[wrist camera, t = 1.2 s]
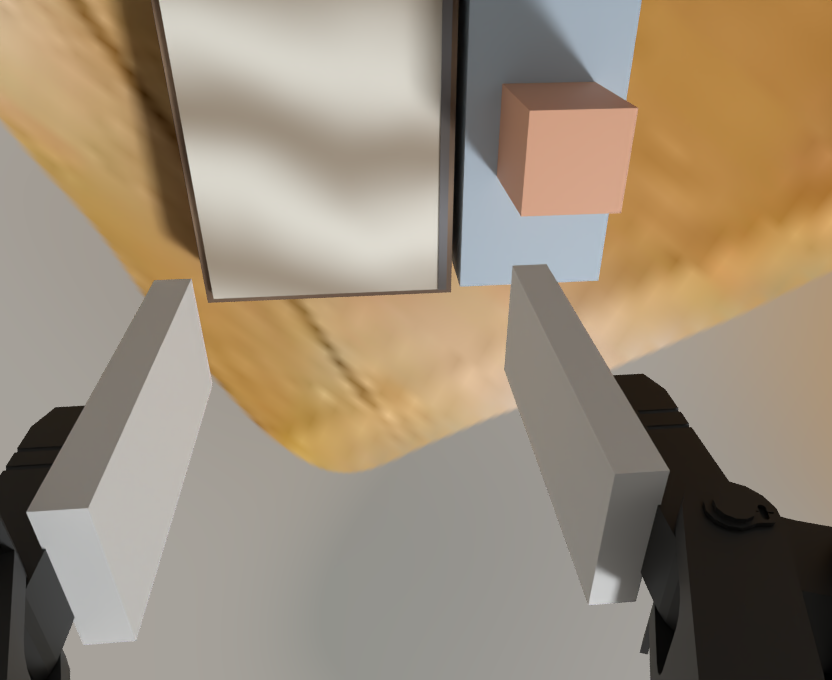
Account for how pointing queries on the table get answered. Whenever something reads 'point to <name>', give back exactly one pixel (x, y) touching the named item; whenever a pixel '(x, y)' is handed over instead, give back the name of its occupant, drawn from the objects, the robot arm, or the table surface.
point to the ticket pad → (315, 142)
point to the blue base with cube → (540, 134)
